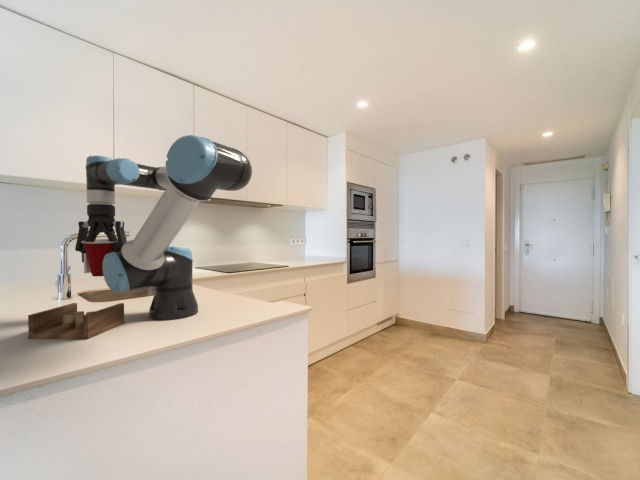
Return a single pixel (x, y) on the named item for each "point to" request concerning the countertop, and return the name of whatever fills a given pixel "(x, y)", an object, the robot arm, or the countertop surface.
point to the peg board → (90, 322)
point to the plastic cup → (98, 254)
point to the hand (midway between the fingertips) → (102, 272)
